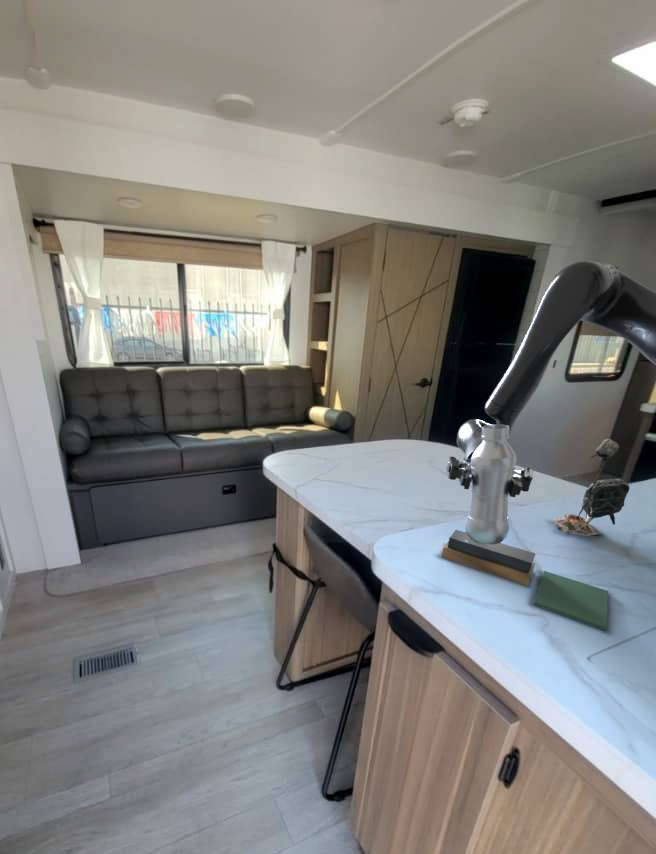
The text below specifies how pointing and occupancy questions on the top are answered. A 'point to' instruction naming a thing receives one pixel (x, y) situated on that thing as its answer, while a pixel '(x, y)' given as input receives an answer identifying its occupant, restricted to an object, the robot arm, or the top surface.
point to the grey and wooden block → (491, 557)
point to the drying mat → (573, 599)
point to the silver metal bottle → (491, 486)
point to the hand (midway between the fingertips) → (490, 487)
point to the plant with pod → (597, 497)
